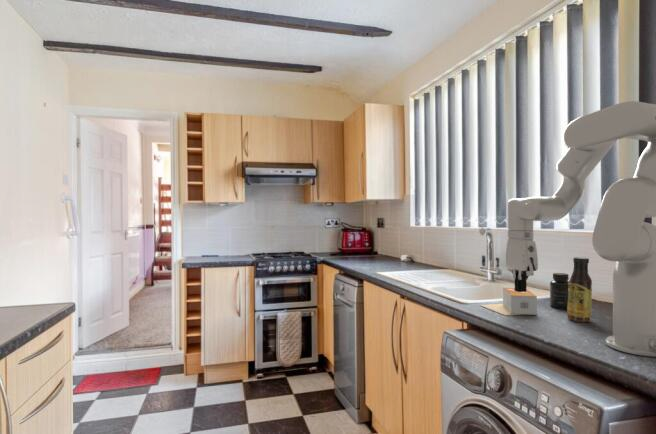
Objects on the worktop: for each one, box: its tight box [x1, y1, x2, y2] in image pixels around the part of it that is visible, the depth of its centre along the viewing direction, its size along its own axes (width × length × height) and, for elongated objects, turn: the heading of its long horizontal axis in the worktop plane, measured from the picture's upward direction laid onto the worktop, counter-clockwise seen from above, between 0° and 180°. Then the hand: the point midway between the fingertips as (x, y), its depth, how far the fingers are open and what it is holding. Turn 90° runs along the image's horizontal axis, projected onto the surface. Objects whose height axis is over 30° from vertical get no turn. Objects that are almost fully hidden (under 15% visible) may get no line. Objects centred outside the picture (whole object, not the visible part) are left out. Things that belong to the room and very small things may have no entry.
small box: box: [502, 287, 538, 316], centre depth 133 cm, size 8×6×13 cm
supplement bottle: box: [549, 272, 570, 310], centre depth 138 cm, size 7×7×12 cm
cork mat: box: [479, 303, 526, 317], centre depth 135 cm, size 14×12×1 cm
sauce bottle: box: [566, 256, 593, 323], centre depth 121 cm, size 7×6×20 cm
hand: (520, 291), depth 127 cm, fingers closed
